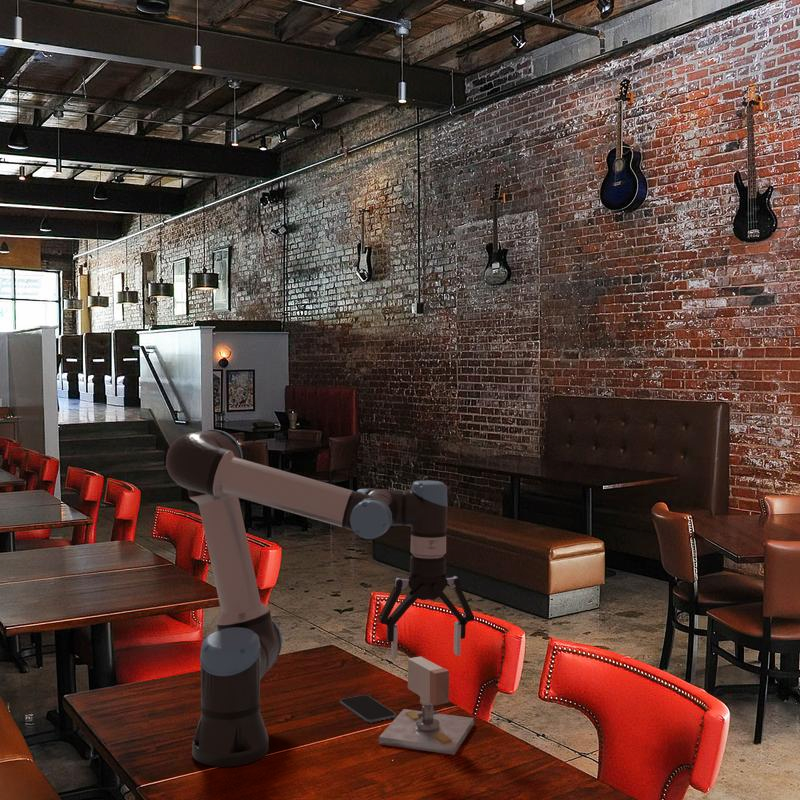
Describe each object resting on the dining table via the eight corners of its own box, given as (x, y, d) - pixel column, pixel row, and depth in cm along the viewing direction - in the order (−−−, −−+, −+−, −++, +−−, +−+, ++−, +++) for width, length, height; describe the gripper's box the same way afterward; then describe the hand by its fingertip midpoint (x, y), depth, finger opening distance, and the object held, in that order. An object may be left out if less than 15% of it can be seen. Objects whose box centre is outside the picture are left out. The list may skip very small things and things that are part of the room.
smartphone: (366, 694, 208) (398, 714, 195) (366, 698, 208) (398, 718, 195) (338, 699, 204) (368, 721, 191) (338, 703, 204) (368, 725, 191)
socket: (454, 754, 176) (454, 722, 175) (379, 744, 181) (379, 712, 180) (473, 724, 191) (473, 695, 190) (403, 715, 196) (403, 686, 196)
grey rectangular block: (407, 695, 189) (407, 658, 189) (420, 692, 191) (420, 655, 191) (435, 712, 180) (435, 673, 180) (448, 709, 182) (449, 670, 181)
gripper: (372, 559, 179) (370, 663, 179) (490, 557, 183) (487, 658, 184) (366, 552, 186) (364, 651, 187) (480, 550, 191) (477, 647, 191)
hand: (425, 655), depth 185 cm, fingers open, 13 cm apart
